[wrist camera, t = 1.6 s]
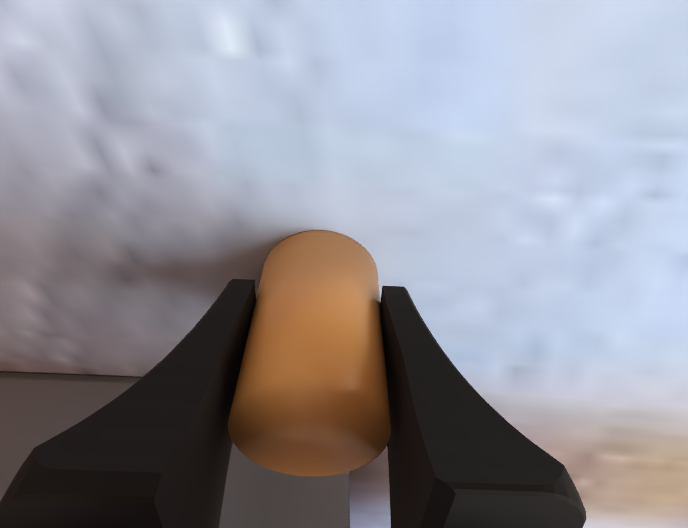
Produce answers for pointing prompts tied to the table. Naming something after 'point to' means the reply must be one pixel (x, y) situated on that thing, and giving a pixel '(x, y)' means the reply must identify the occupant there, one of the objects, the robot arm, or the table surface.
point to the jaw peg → (314, 361)
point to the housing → (243, 474)
